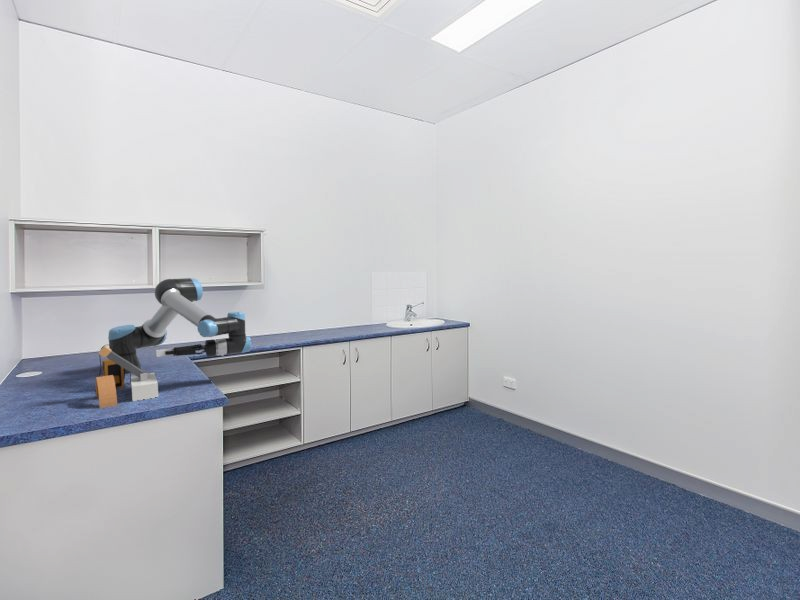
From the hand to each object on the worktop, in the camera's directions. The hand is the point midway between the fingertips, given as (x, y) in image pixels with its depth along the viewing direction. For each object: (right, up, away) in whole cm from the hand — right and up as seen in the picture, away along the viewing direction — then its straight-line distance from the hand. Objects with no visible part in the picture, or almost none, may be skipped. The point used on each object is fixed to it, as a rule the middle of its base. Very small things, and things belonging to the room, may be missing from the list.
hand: (156, 353), depth 184 cm
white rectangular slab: (-4, -17, -1) cm, 17 cm away
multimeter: (-25, -16, +9) cm, 32 cm away
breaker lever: (-4, -9, -2) cm, 10 cm away
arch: (-14, -18, -11) cm, 25 cm away
